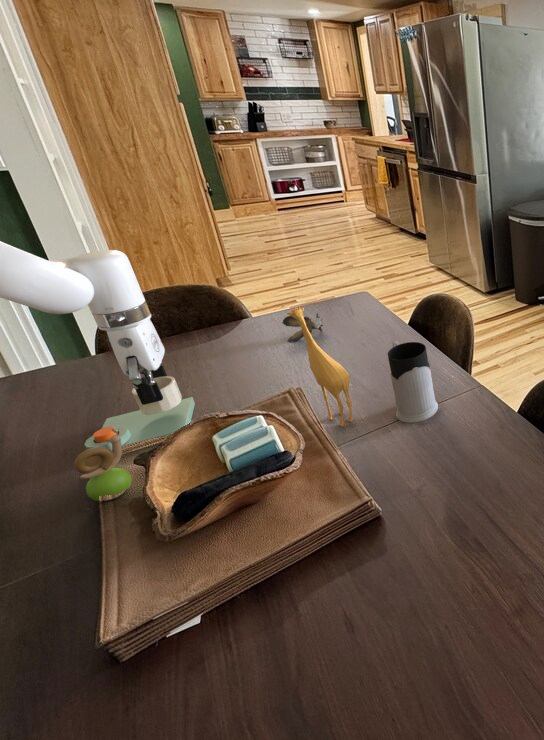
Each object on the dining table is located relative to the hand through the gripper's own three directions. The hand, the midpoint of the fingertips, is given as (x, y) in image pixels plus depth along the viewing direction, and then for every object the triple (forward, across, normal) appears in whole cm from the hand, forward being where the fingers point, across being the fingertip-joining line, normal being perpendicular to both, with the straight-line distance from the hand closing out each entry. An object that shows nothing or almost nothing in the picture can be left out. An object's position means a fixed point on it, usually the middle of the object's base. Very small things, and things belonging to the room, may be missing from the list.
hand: (156, 392), depth 97 cm
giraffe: (+7, -17, -30) cm, 35 cm away
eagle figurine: (+8, +28, -27) cm, 40 cm away
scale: (+7, -2, +3) cm, 8 cm away
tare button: (+4, -6, +7) cm, 10 cm away
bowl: (+3, 0, 0) cm, 3 cm away
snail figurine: (+7, -21, +4) cm, 23 cm away
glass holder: (+7, -22, -45) cm, 51 cm away
